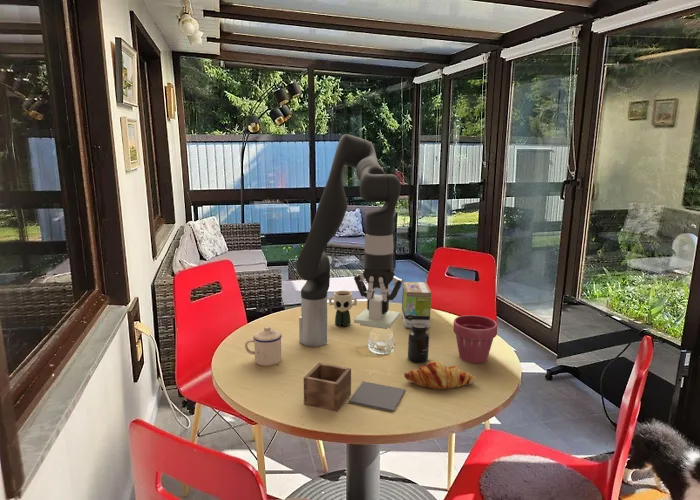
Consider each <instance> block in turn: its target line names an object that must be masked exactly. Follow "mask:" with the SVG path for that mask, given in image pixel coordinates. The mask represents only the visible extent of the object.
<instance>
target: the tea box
mask: <svg viewBox="0 0 700 500" xmlns="http://www.w3.org/2000/svg"><path fill="white" fill-rule="evenodd" d="M431 308H432V291H431V289H430V287H429V285H428V283H427V282H425V281H424V282H421V281H420V282H417V281H415V282H414V281H403V283H402V303H401V317H402V321H403V325H404V328H407V329H408V328H409V329H412V324H414V323H424V324H426V325H427V329H430V324H431V310H432V309H431Z"/></svg>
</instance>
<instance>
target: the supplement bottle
mask: <svg viewBox="0 0 700 500" xmlns="http://www.w3.org/2000/svg"><path fill="white" fill-rule="evenodd" d="M427 329H428V328H427V325H426V324H424V323H414V324H412V328H411V331H410V332H409V333H408V340H407V341H408V342H407V343H408V345H407V359H408V360H409V361H410V362H412V363H417V364H421V363H422V364H423V363H425V362H427V361H428V360H429V352H430V351H429V350H430V349H429V348H430V334H429V333H428V332H427Z"/></svg>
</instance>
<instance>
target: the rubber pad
mask: <svg viewBox="0 0 700 500" xmlns="http://www.w3.org/2000/svg"><path fill="white" fill-rule="evenodd" d="M405 392H406V388H401V387H395V386H390V385H385V384H380V383H374V382H370V381H362V382H360V385H359V386H358V387H357V388H356V390H355V391H354V393H353V394H351V397H349V398H348V403H349V404H354V405H358V406H363V407H369V408H372V409H378V410H383V411H387V412H391V413H394V412H395V411H396V409H397V407H398V406H399V403H400V402H401V400H402V398H403V396H404V394H405Z"/></svg>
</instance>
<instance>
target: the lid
mask: <svg viewBox="0 0 700 500" xmlns="http://www.w3.org/2000/svg"><path fill="white" fill-rule="evenodd" d="M382 301H383V298H382V294H377V293H376V294H374V296H373V298H372V299H370V300H369V310H368V309H367V307H366V308H364V309H363V310H362V311H361V313H359V314H358V315H357V316H355V318H354V319H353V324H359V325H360V326H362V327H369V328H376V329H383V330H387V329H391V327H392V326H393V325H394V324H395V323H396V322H397V320H398V319H399V318H400V317H401V312H400V311H393V310H388V311H387V313H386V314H382Z"/></svg>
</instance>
